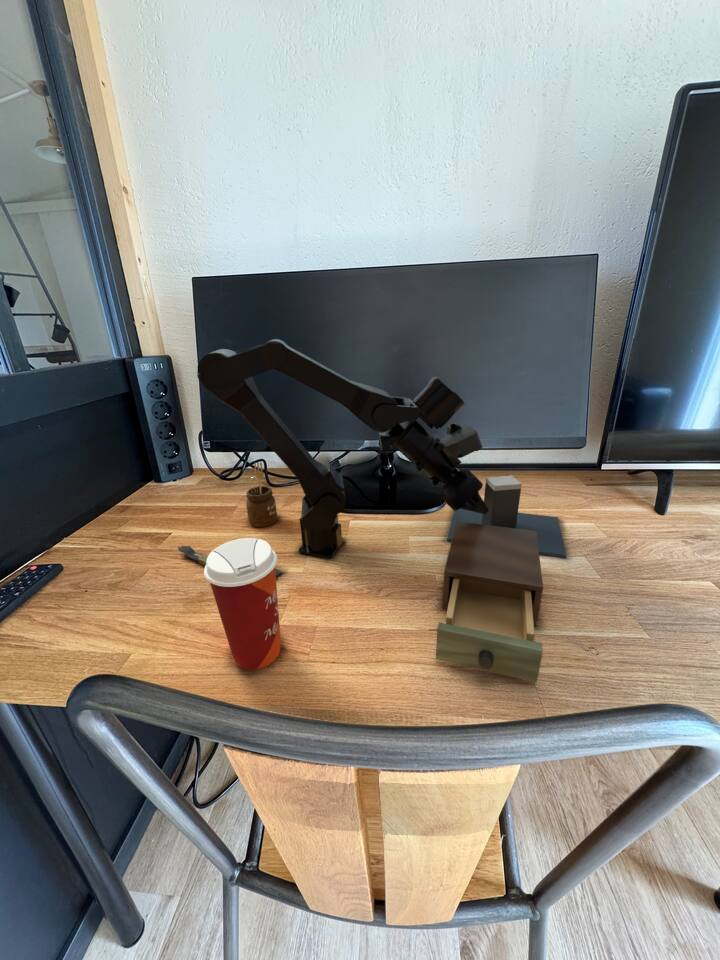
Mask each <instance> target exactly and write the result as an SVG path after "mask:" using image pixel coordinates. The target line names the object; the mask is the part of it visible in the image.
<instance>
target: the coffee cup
mask: <svg viewBox="0 0 720 960" xmlns="http://www.w3.org/2000/svg"><path fill="white" fill-rule="evenodd" d="M207 556H208V557H207V561H206V565H204V570H203V576H204V578H205V580H206V581H207V582H209V584H210V588H211V590H212V594H213V597H214V600H215V604H216V608H217V610H218V614H219V616H220V619H221V620H220V621H221V623H222V626H223V630H224V633H225V636H226V640H227V642H228V647H229V649H230V652H231V655H232V657H233V660H234V662H235V664H236V665H237V666H238V667H239V668H241V669H243V670H246V671H256V670H257V671H258V670H260V669H263V668H266V667H268V666H269V665H271V664H272V663H273V662H274V661H275V660H276V659H277V657H279V655H280V652H281V645H282V644H281V643H282V642H281V641H282V640H281V627H280V625H281V624H280V611H279V601H278V599H279V598H278V588H277V576H276V573H275V568H276V565H277V564H278V556H277V553H276V552H275V551H274V550H273V549H272V545H270V543H268V542H267V541H266V540H264V539H262V538H257V537H256V538H255V537H242V538H236V539H233V540H228V541H225V542H224V543H222V544H220V545H219V546H217V547H216V548H214V549H213V550H211V551H210V552H209V554H208V555H207Z"/></svg>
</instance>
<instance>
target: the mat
mask: <svg viewBox="0 0 720 960" xmlns="http://www.w3.org/2000/svg"><path fill="white" fill-rule="evenodd" d="M482 515H483V514H481V513H477V512H473V511H469V510H463V509H459V510H456V511H454V510H453V515H452V519H451V523H450V527H449V531H448V534H447V538H446V541H447V542H449V543H451V541H452V537H453V533H454V529H455V524H456V521H459V522H467V523H475V524H482ZM516 529H523V530H531V531H536V533H537V541H538V549H539V556H540V555H541V556H547V557H554V558H555V557H556V558H561V559H562V558H563V559H566V558H567V552H566V549H565V544H564V543H565V542H564V540H563V539H564V538H563V535H562V530H561V526H560V522H559V518H558V516H550V515H541V514H535V513H534V514H533V513H524V512H518V515H517V523H516Z"/></svg>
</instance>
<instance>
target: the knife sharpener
mask: <svg viewBox="0 0 720 960" xmlns="http://www.w3.org/2000/svg"><path fill="white" fill-rule="evenodd" d="M484 484H485V487H484V496H483V501H484V503H485V504H486V506H487V508H488V509H489V511H488V512H487V513H486V514H483V515H482V524H483V525H491V526H499V527H507V528H515V529H516V523H517V515H518V513H519V509H520V508H519V507H520V500H521V493H522V485H523V484H522V483H521V481H519V480H518V479H516V478H515V477H514V476H513V475H500V476H489V477H485V483H484Z"/></svg>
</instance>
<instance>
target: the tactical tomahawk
mask: <svg viewBox="0 0 720 960" xmlns="http://www.w3.org/2000/svg"><path fill="white" fill-rule="evenodd" d="M177 549H178V551H179V552H180V553H183V554H185V555H186V556H187V557H188V559H191V560H193V561H196V562H198V563H199V564H201V565H203V566H206V561H207V557H208V556H209V555H202V554H200V553H198V552H197V551H195V550H194V548H192V546H190V545H181V546H178V547H177ZM275 573H276V577H278V576H279V575H281V574H283V570H280V569H278V568H276V567H275Z"/></svg>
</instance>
